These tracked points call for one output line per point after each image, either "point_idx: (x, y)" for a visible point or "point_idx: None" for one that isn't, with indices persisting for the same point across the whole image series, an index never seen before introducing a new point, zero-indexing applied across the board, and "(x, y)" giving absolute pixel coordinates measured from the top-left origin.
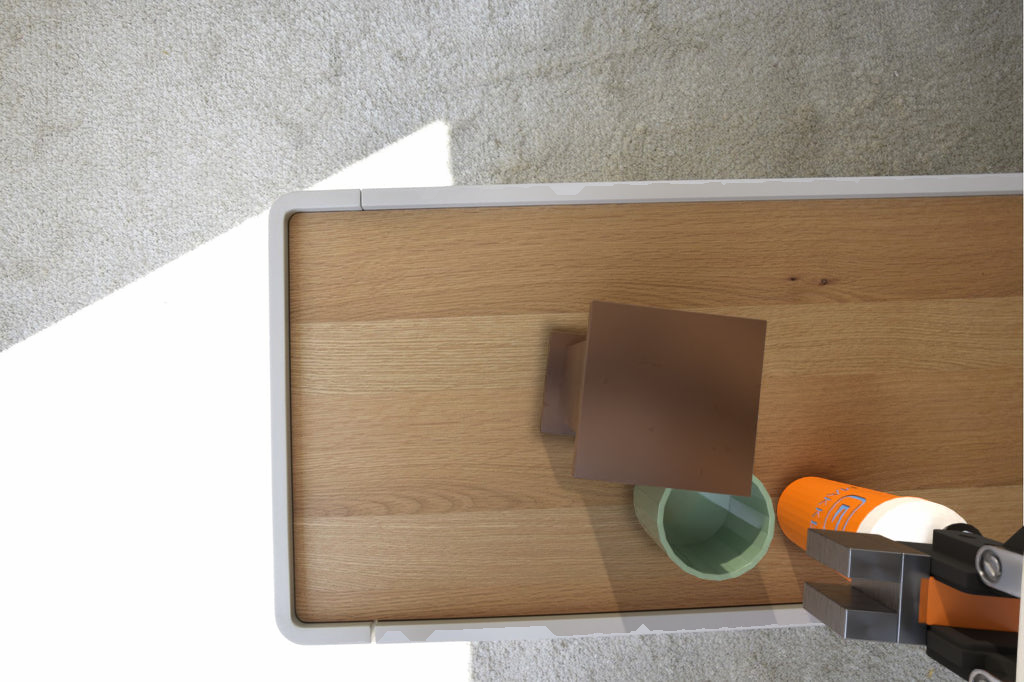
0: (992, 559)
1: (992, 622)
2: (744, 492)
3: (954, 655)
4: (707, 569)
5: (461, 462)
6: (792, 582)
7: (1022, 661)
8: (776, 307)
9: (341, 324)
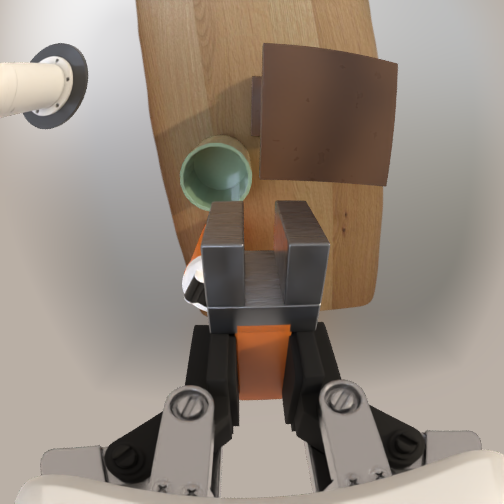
0: (349, 398)
1: (246, 379)
2: (263, 174)
3: (216, 370)
4: (185, 177)
5: (228, 36)
6: (183, 226)
7: None
8: (331, 207)
9: None
